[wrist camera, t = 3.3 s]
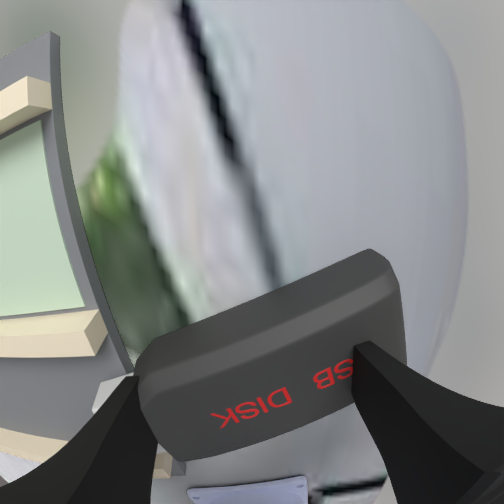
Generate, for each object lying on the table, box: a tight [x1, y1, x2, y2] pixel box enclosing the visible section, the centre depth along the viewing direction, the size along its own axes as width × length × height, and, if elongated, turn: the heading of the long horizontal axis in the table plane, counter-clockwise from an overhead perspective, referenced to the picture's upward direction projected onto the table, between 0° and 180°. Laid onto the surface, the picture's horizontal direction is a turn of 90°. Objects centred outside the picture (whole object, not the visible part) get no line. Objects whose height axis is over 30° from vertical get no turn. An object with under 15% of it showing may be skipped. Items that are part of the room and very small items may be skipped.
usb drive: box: [92, 249, 407, 462], centre depth 10 cm, size 5×12×3 cm, turn 111°
